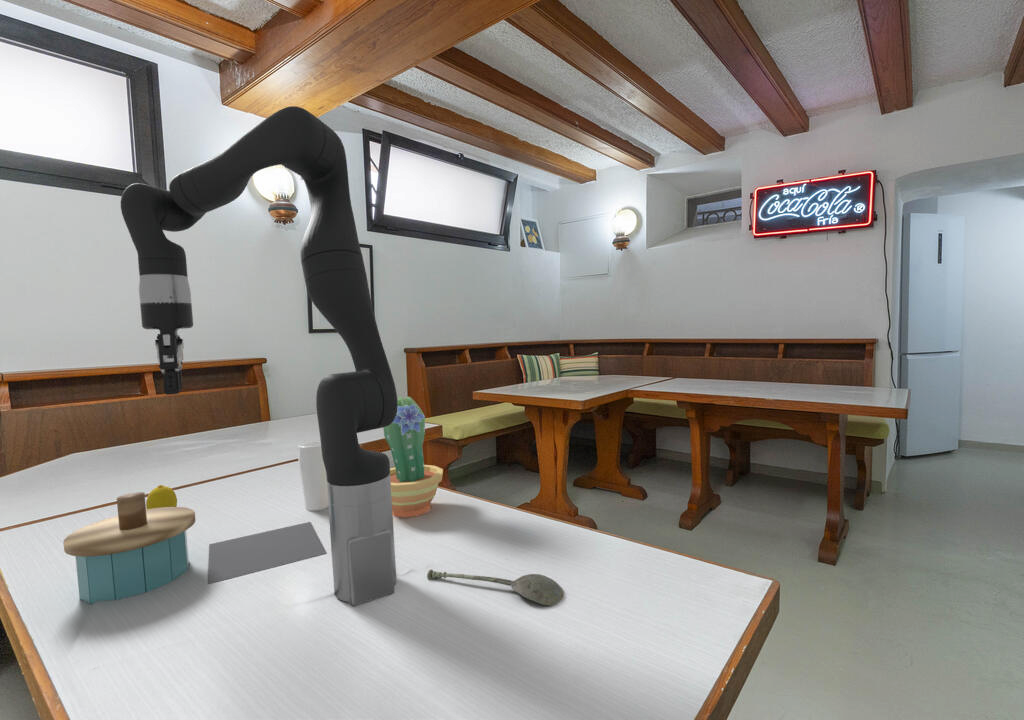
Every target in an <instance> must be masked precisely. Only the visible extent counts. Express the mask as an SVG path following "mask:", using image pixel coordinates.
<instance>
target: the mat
mask: <svg viewBox="0 0 1024 720" xmlns="http://www.w3.org/2000/svg"><path fill="white" fill-rule="evenodd" d="M327 554H328V552H327V551H326V549H325V547H324V545H323V543H322V542H321V539H320V537H319V535H318V533H317V532H316V529H315V527H314V526H313V524H312V522H311V521H308V522H303V523H299V524H294V525H290V526H289V525H288V526H285V527H281V528H276V529H272V530H268V531H267V530H266V531H263V532H258V533H254V534H249V535H245V536H240V537H236V538H232V539H227V540H222V541H217V542H214V543H209V546H208V561H207V562H208V565H207V582H206V583H207V585H210V584H211V585H212V584H214V583H219V582H223V581H226V580H227V581H228V580H231V579H234V578H239V577H242V576H246V575H250V574H254V573H257V572H261V571H264V570H269V569H274V568H276V567H277V568H278V567H280V566H284V565H289V564H293V563H297V562H301V561H304V560H307V559H312V558H315V557H320V556H323V555H327Z"/></svg>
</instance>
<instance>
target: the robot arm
mask: <svg viewBox="0 0 1024 720" xmlns="http://www.w3.org/2000/svg"><path fill="white" fill-rule="evenodd" d="M281 165H282V166H283V167H284V168H286V169H288V170H290V171H292V172H293V173H295V174H297V175H298V176H300V177H301V179H302V180H303V182H304V184H305V188H306V190H307V194H308V200H309V204H310V219H309V223H308V225H307V228H306V230H305V232H304V235H303V237H302V241H301V245H300V262H301V263H300V264H301V267H302V272H303V279H304V282H305V287H306V291H307V294H308V296H309V297H308V298H309V299H310V300H311V302H312V303H313V305H314V307H315V308H316V309H317V310H318V311H319V313H320V314H321V315H322V316H323V318H324V319H325V320H326V321H327V322H328V323H329V324H330V326H332V328H333V329H334V330H335V331H336V332H337V334H338V335H339V336H340V337H341V339H342V340H343V341H344V344H345V345H346V347H347V348H348V352H349V353H350V356H351V360H352V362H353V365H354V366H353V367H354V369H355V371H349V372H348V371H346V372H338V373H332V374H327V375H325V376H324V377H323V378H322V379H321V380H320V382H319V384H318V386H317V390H316V396H315V398H316V400H315V402H316V403H315V406H316V415H317V423H318V424H317V425H318V430H319V438H320V440H321V450H322V458H323V462H324V466H325V469H326V476H327V490H328V507H327V508H328V516H329V517H328V519H329V522H328V523H329V532H330V533H329V536H330V550H331V563H332V576H333V578H332V579H333V580H332V581H333V592H334V595H335V597H336V598H337V599H339V600H341V601H343V602H348V603H350V604H351V605H352V606H356V605H359V604H362V603H365V602H369V601H373V600H375V599H379V598H382V597H383V596H384V597H385V596H387V595H391V594H394V593H395V586H396V585H397V582H398V581H397V566H396V565H397V563H396V550H395V548H396V547H395V535H394V516H393V514H392V498H391V479H390V469H391V464H390V462H391V461H390V457H388V455H387V454H386V453H383V452H380V451H377V450H367V449H364V448H362V447H360V443H359V438H358V434H359V433H364V432H368V431H373V430H377V429H383V427H386V426H389V425H390V424H391V423H392V422H393V421H394V419H395V417H396V414H397V407H398V402H397V399H398V394H397V388H396V383H395V379H394V376H393V373H392V370H391V367H390V365H389V364H390V363H389V361H388V357H387V355H386V352H385V348H384V345H383V342H382V339H381V335H380V332H379V327H378V324H377V320H376V316H375V311H374V307H373V303H372V297H371V294H370V293H371V292H370V287H369V281H368V277H367V271H366V266H365V262H364V258H363V257H364V256H363V253H362V250H361V245H360V241H359V236H358V231H357V225H356V221H355V215H354V212H353V207H352V201H351V194H350V193H351V192H350V181H349V171H348V162H347V154H346V149H345V146H344V144H343V141H342V139H341V138H340V137H339V135H338V134H337V133H336V132H335V130H333V129H332V128H331V127H330V126H329V125H327V124H326V123H324V122H323V121H322V120H321V119H319V118H318V117H317V116H315V115H314V114H313V113H311V112H310V111H308V110H306V109H305V108H303V107H300V106H296V105H295V106H294V105H293V106H286V107H284V108H281V109H279V110H278V111H275V112H274V113H272V114H270V115H269V116H268V117H266V118H265V119H264V120H262V121H260V123H258V124H257V125H256V126H255V127H253V128H252V129H251V130H249V131H248V132H246V133H245V134H244V135H242V136H241V137H240V138H238V139H237V140H236V141H235V142H233V143H232V144H231V145H229V146H228V147H227V148H225V149H224V150H222V151H221V152H220V153H218V154H217V155H215V156H213V157H212V158H210V159H208V160H205V161H204V162H202V163H200V164H196V165H194V166H193V167H190V168H188V169H186V170H184V171H182V172H180V173H178V174H176V175H174V177H173V178H172V179H171V180H170V182H169V184H168V187H169V188H168V189H169V190H167V189H163V188H160V187H155V186H153V185H149V184H145V183H139V182H137V183H132V184H130V185H128V186H127V187H126V188H125V189H124V190H123V192H122V194H121V198H120V211H121V214H122V218H123V220H124V223H125V225H126V229H127V230H128V233H129V235H130V238H131V242H132V243H133V245H134V247H135V250H136V252H137V260H138V261H137V262H138V274H139V275H138V276H139V282H138V283H139V284H138V295H139V305H140V317H141V318H140V319H141V327H142V329H145V330H158V331H159V334H158V333H157V335H156V339H155V340H154V341H155V342H154V343H155V349H156V351H157V354H156V355H157V357H156V358H157V361H158V363H159V364H158V368H159V369H160V372H161V373H162V379H163V380H162V382H163V392H164V394H165V395H167V396H168V395H178V394H180V391H181V390H182V389H183V378H182V368H183V364H184V362H183V361H184V345H185V344H184V343H185V342H184V338H181V336H180V335H179V333H178V330H181V329H182V330H183V329H184V330H185V329H191V328H193V327H194V320H193V319H194V318H193V317H194V316H193V306H192V293H191V286H190V283H189V277H188V275H189V274H188V266H187V265H188V264H187V256H186V251H185V249H184V247H182V245H180V244H177V243H176V242H173V241H172V240H170V239H169V238H168V237H167V236H166V234H165V233H164V231H166V232H173V233H175V232H183V231H186V230H189V229H190V228H192V227H193V226H194V225H195V224H196V223H197V222H198V221H200V220H201V219H202V218H203V217H204V216H205V215H206V214H207V213H209V212H212V211H214V210H217V209H219V208H221V207H223V206H225V205H228V204H230V203H232V202H233V201H235V200H237V199H238V198H239V197H240V196H241V195H242V194H243V193H244V191H245V189H246V188H247V186H248V184H249V181H250V180H251V178H253V175H254V174H256V173H257V172H259V171H261V170H263V169H266V168H270V167H274V166H281Z"/></svg>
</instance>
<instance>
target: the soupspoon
mask: <svg viewBox="0 0 1024 720" xmlns="http://www.w3.org/2000/svg"><path fill="white" fill-rule="evenodd" d="M426 575H427V576H426V578H427V579H428V581H430V580H432V579H435V580H436V579H441V578H444V579H446V578H453V579H455V578H456V579H463V580H472V581H482V582H489V583H494V584H499V585H505V586H510V587H511V589H512V590H513V591H514V592H516V593H517V594H519V595H520V596H521V597H524V598H526V599H527V600H530V601H532V602H535V603H538V604H540V605H542V606H549V607H553V606H554V607H555V605H558V604H559V603H560V602H561V601H562V599H563V598H564V595H565V593H564V589H563V588H562V587H561V586H560V584H558V583H557V581H555V580H554V579H552V578H550V577H548V576H546V575H543V574H539V573H538V574H537V573H529V574H525V575H522V576H520V577H518V578H516V579H515V580H511V579H505V578H499V577H495V576H494V577H493V576H485V575H484V576H483V575H474V574H473V575H471V574H462V573H450V572H449V573H448V572H447V571H444V572H441V571H434V570H433V569H432V568H431V569H429V570H428V572H427V574H426Z"/></svg>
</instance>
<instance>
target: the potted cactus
mask: <svg viewBox="0 0 1024 720" xmlns="http://www.w3.org/2000/svg"><path fill="white" fill-rule="evenodd" d="M397 402H398V407H397V414H396V417H395V419H394V421H393V422H392V423H391V424H390V425H389V426H386V427H383V428H382V429H383V437H384V438H385V441H386V443H387V445H388V447H389V448H390V452H391V456H392V459H393V463H394V467H390V479H391V498H392V514H393V517H396V518H397V517H399V518H411V517H412V518H413V517H417V516H420V515H424V514H426V513H427V512H429V511H430V510H431V507H432V505H431V503H432V500H433V499H434V497H435V496H436V494H437V490H438V486H439V483H441V482H442V480H443V475H444V468H441V467H439V466H436V465H431V464H430V465H429V464H425V461H424V453H423V452H424V450H423V449H424V448H423V444H424V439H425V435H426V426H425V425H426V422H425V421H426V417H425V416H426V415H425V414H424V412H423V411H422V409H421V407H419V405H418V403H417V402H416V401H415V400H414V399H413V398H412V397H411V396H407V397H405V398H404V397H402V396H399V397H397Z"/></svg>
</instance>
